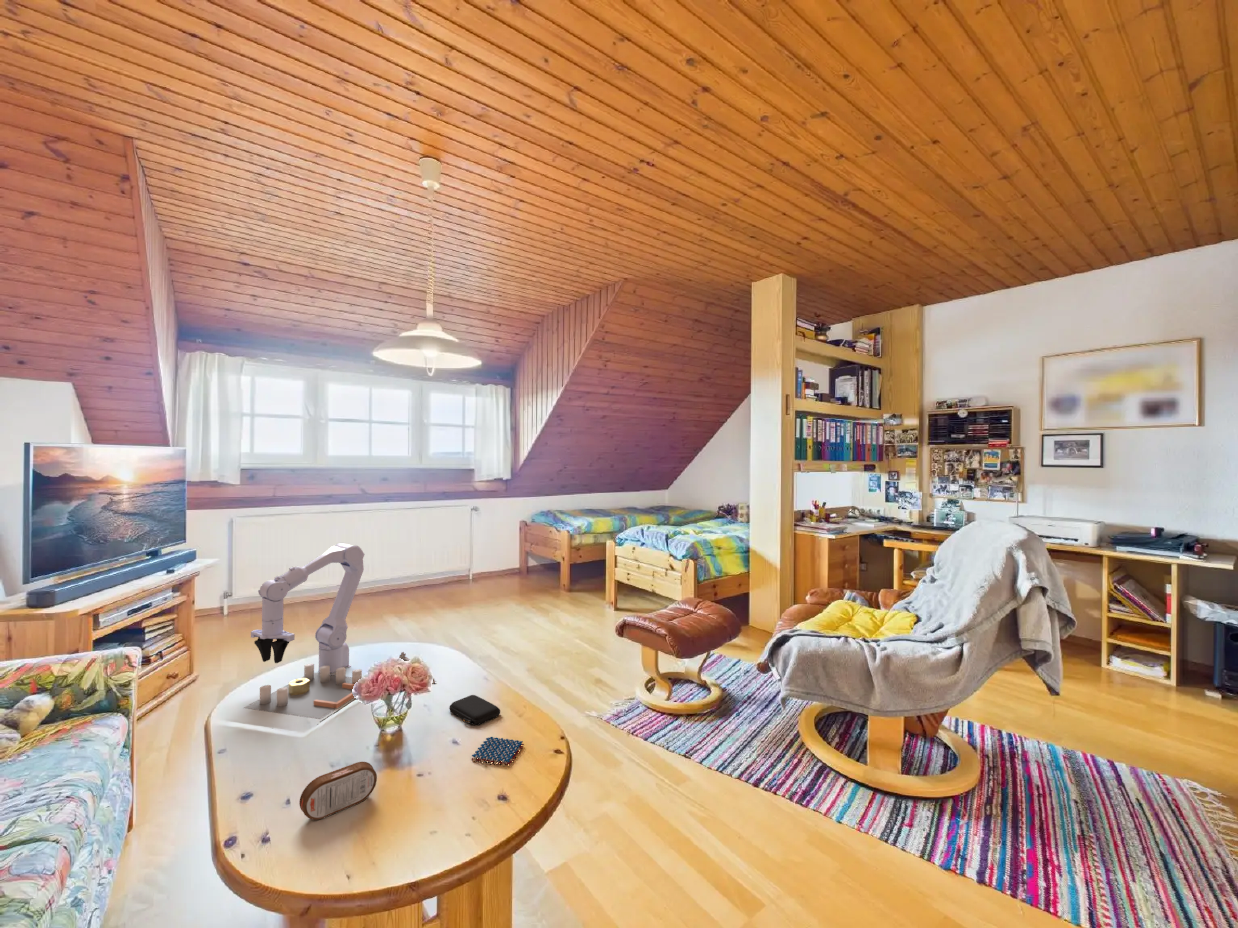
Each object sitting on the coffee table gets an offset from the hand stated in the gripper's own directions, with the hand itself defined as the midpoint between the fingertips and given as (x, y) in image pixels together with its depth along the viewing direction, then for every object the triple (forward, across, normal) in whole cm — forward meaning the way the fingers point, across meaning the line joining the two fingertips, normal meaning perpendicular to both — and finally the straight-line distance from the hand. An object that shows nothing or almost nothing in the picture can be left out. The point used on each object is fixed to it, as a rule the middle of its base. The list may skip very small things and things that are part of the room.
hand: (272, 661), depth 170 cm
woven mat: (+10, +84, -15) cm, 86 cm away
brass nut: (+8, +10, 0) cm, 13 cm away
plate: (+9, +16, 0) cm, 19 cm away
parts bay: (+8, +25, 0) cm, 26 cm away
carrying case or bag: (+10, +68, +2) cm, 69 cm away
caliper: (+10, +37, +22) cm, 44 cm away
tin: (+10, +60, -43) cm, 74 cm away
